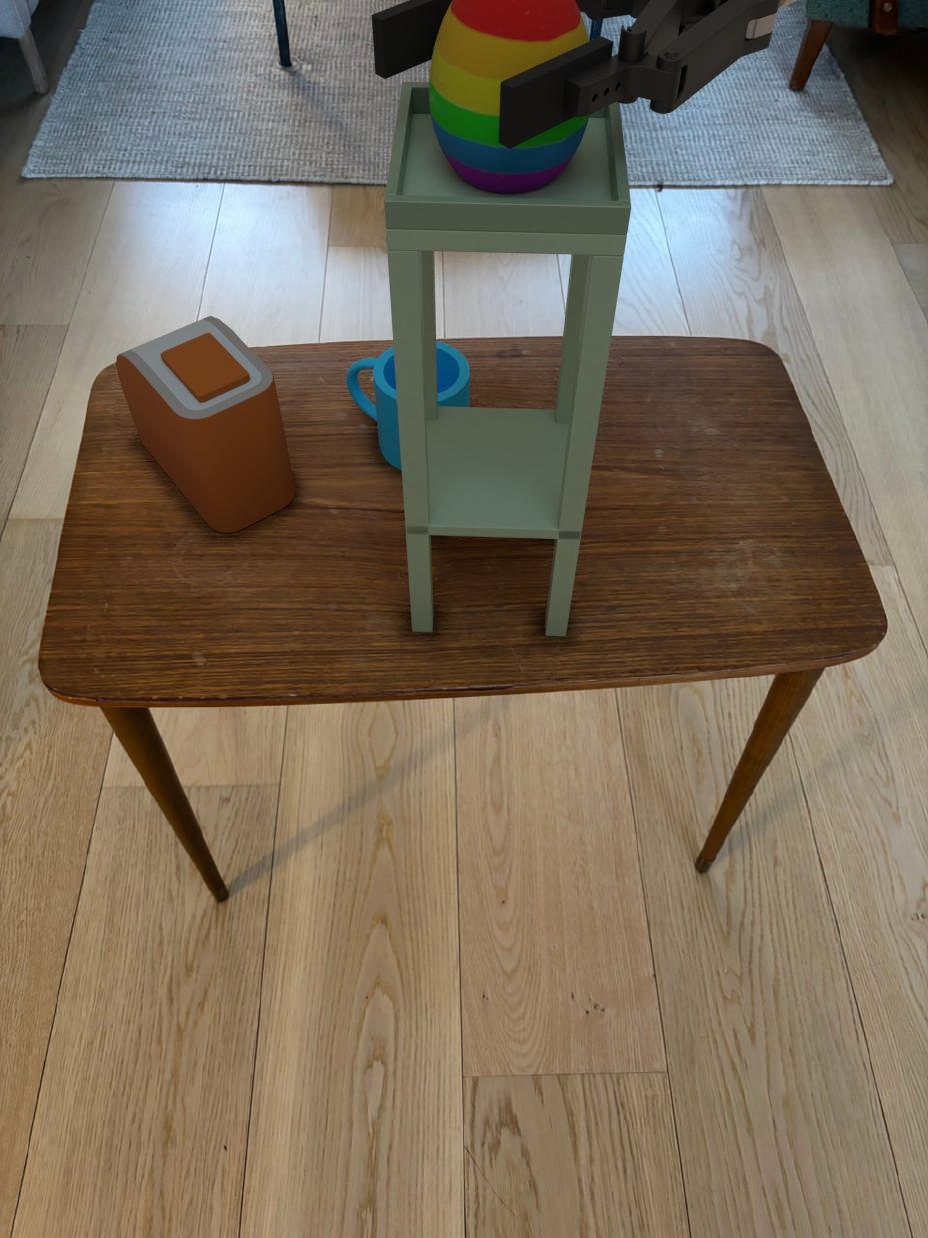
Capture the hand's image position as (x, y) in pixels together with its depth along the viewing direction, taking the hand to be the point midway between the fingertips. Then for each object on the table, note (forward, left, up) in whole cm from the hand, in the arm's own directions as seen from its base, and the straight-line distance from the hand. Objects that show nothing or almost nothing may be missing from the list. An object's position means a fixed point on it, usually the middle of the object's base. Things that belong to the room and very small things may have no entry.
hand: (439, 80), depth 46 cm
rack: (-3, -3, -41) cm, 41 cm away
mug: (+5, -19, -41) cm, 45 cm away
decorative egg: (-3, -3, -6) cm, 8 cm away
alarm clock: (+21, -14, -41) cm, 48 cm away
